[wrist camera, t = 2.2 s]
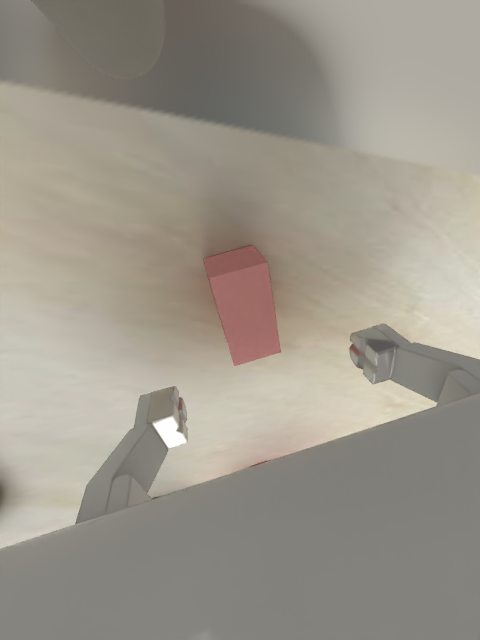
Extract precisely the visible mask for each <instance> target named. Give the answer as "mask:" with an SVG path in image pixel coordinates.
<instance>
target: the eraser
mask: <svg viewBox="0 0 480 640" xmlns="http://www.w3.org/2000/svg"><path fill="white" fill-rule="evenodd" d="M203 260H204V264H205V267H206V271H207V275H208V278H209V282H210V285H211V289H212V292H213V295H214V299H215V302H216V305H217V309H218V312H219V316H220V319H221V322H222V326H223V329H224V332H225V336H226V339H227V343H228V346H229V349H230V353H231V356H232V359H233V363H234V366H236V365H239V364H243V363H246V362H249V361H253V360H256V359H259V358H263V357H266V356H269V355H273V354H276V353H279V352H281V350H280V343H279V336H278V330H277V323H276V316H275V309H274V302H273V295H272V288H271V281H270V274H269V267H268V262H267V261H266V260H265V259H264V257H263V256H262V255H261V254H260V253H259V252H258V251H257V250H256V249H255V247H254V246H253V245H251V246H248V247H244V248H240V249H236V250H233V251H229V252H225V253H222V254H218V255H214V256H211V257H207V258H204V259H203Z"/></svg>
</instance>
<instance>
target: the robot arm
mask: <svg viewBox="0 0 480 640" xmlns="http://www.w3.org/2000/svg"><path fill="white" fill-rule="evenodd" d="M350 341H351V342H352V343H353V344H352V345H351V347H350V357H351V359H352V361H353V363H354V364H355V365H356V366H357V367H358V368H361V369H363V374H364V375H365V376H366V378H367V379H368V380H369V381H370V382H371V383H372V384H376V383H379V382H383V381H386V380H390V379H391V380H392V381H394V382H396V383H398V384H400V385H402V386H404V387H406V388H408V389H410V390H412V391H414V392H416V393H418V394H421V395H423V396H425V397H427V398H429V399H431V400H433V401H435V402H437V405H436V407H433V408H430V409H427V410H423V411H420V412H417V413H414V414H411V415H408V416H405V417H402V418H399V419H396V420H393V421H390V422H387V423H384V424H381V425H378V426H375V427H372V428H368V429H365V430H362V431H359V432H356V433H353V434H350V435H347V436H344V437H341V438H338V439H335V440H332V441H329V442H326V443H323V444H320V445H317V446H314V447H311V448H307V449H304V450H301V451H298V452H295V453H292V454H289V455H286V456H283V457H280V458H277V459H274V460H271V461H268V462H264V463H261V464H258V465H255V466H252V467H249V468H246V469H243V470H240V471H237V472H234V473H231V474H228V475H225V476H222V477H219V478H216V479H212V480H209V481H206V482H203V483H200V484H197V485H194V486H191V487H188V488H185V489H182V490H179V491H176V492H173V493H170V494H167V495H163V496H160V497H157V498H154V499H151V497H150V496H149V495H148V494H147V493H148V491H149V489H150V487H151V485H152V483H153V481H154V479H155V477H156V475H157V473H158V471H159V469H160V467H161V464H162V462H163V460H164V458H165V456H166V454H167V452H168V449H170V448H173V447H176V446H179V445H182V444H185V443H188V429H187V426H186V424H185V422H186V421H187V411H186V406H185V403H184V401H183V399H182V398H180V397H179V391H178V389H177V387H176V386H173V387H169V388H166V389H162V390H158V391H155V392H152V393H148V394H145V395H141V396H140V398H139V401H138V407H137V413H136V418H135V424H134V428H133V429H130V430H129V432H128V433H127V434H126V435H125V437H124V438H123V439H122V441H121V442H120V443H119V444H118V446H117V447H116V448H115V450H114V451H113V452H112V453H111V455H110V456H109V457H108V459H107V460H106V461H105V462H104V464H103V465H102V466H101V468H100V469H99V470H98V471H97V473H96V474H95V475H94V477H93V478H92V479H91V480H90V482H89V483H88V484H87V486H86V489H85V493H84V496H83V500H82V503H81V506H80V510H79V513H78V517H77V520H76V523H75V525H72V526H69V527H65V528H62V529H59V530H56V531H53V532H50V533H47V534H44V535H41V536H38V537H35V538H32V539H29V540H26V541H23V542H20V543H17V544H14V545H10V546H7V547H4V548H1V549H0V640H480V360H479V359H476V358H472V357H468V356H464V355H461V354H457V353H453V352H449V351H445V350H442V349H438V348H434V347H430V346H427V345H423V344H419V343H415V342H414V343H410V342H409V341H408V340H406V339H405V338H404V337H402V336H401V335H400V334H398V333H397V332H396V331H394V330H393V329H392V328H390V327H389V326H388V325H386V324H379V325H376V326H373V327H370V328H367V329H364V330H360V331H357V332H354V333H352V334H351V335H350Z"/></svg>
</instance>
